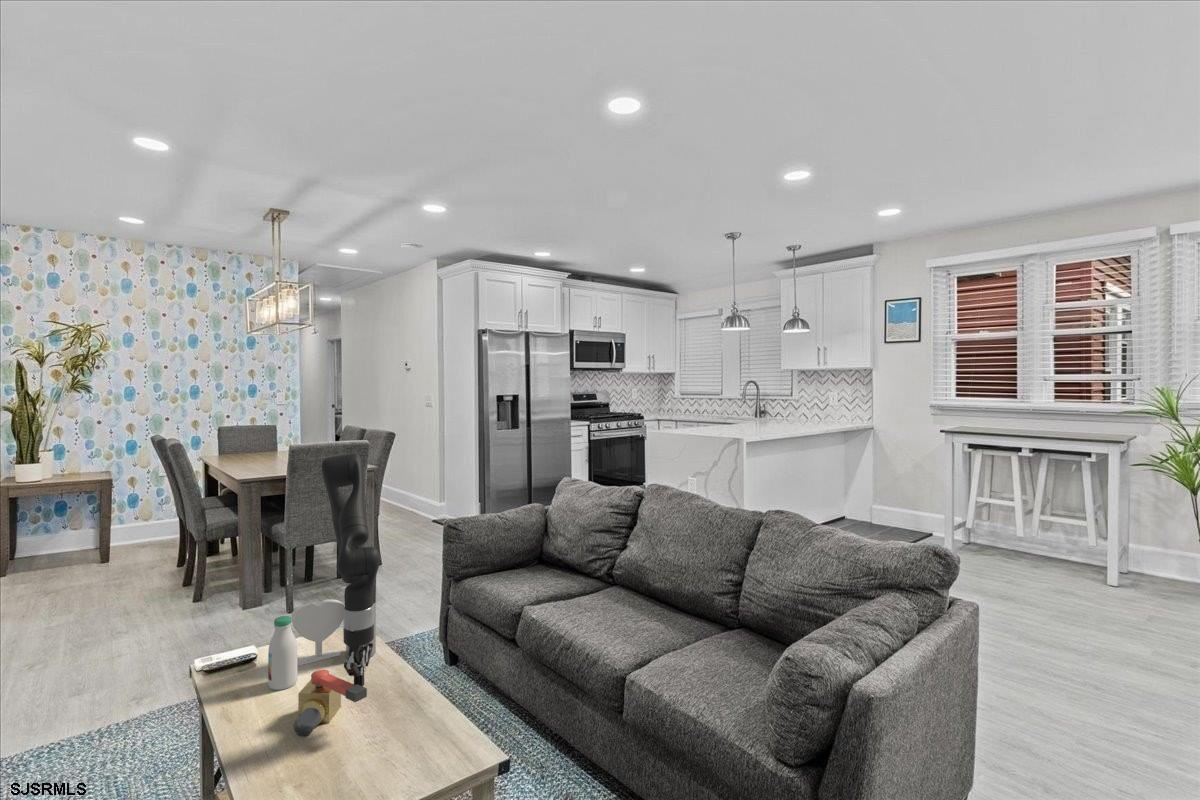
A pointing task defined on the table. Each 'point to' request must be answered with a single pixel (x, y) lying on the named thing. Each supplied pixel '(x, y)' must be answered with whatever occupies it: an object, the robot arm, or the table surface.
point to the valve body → (315, 707)
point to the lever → (339, 685)
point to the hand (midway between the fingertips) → (359, 687)
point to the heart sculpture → (318, 626)
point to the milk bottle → (282, 655)
